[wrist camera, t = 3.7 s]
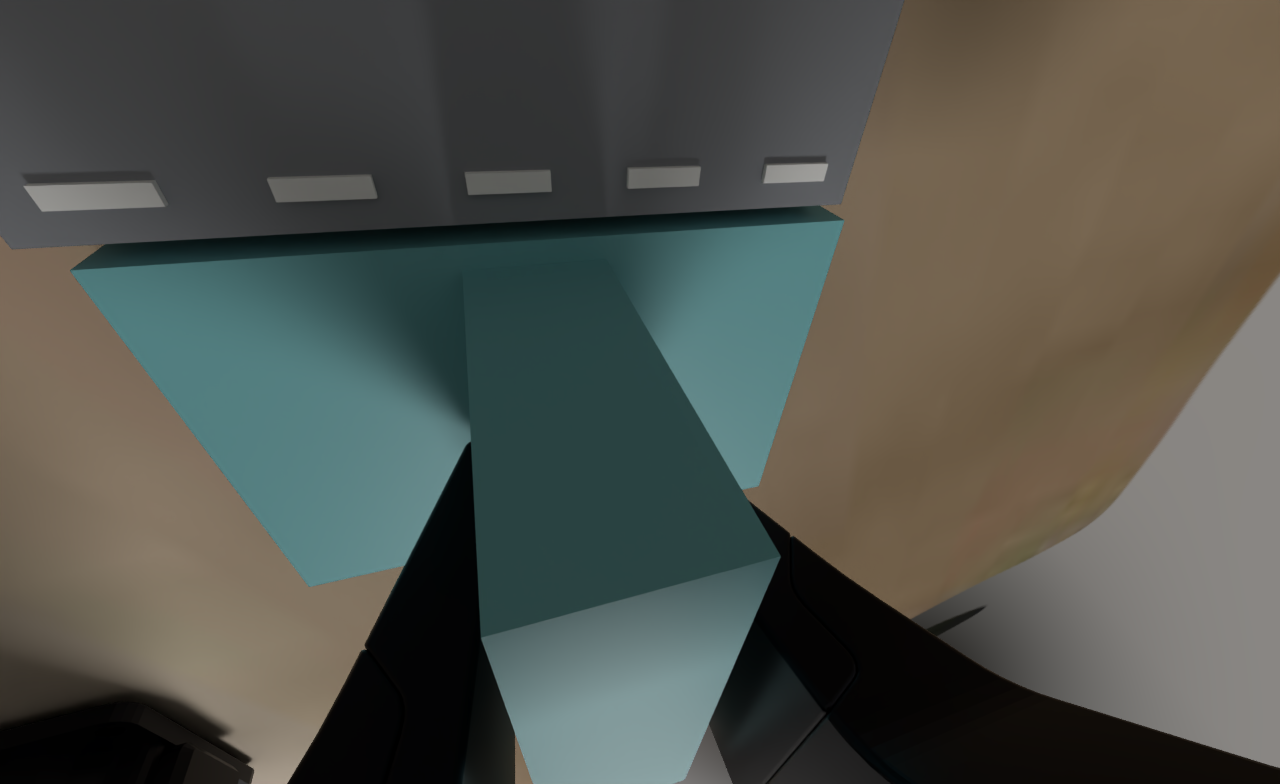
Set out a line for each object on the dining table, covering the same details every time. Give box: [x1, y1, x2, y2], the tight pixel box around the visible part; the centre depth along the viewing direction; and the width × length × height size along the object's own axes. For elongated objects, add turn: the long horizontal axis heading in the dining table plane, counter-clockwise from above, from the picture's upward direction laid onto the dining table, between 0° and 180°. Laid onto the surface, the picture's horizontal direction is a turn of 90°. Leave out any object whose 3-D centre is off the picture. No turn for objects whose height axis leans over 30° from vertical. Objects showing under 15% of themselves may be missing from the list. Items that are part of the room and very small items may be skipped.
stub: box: [70, 205, 844, 784], centre depth 7 cm, size 10×7×6 cm
